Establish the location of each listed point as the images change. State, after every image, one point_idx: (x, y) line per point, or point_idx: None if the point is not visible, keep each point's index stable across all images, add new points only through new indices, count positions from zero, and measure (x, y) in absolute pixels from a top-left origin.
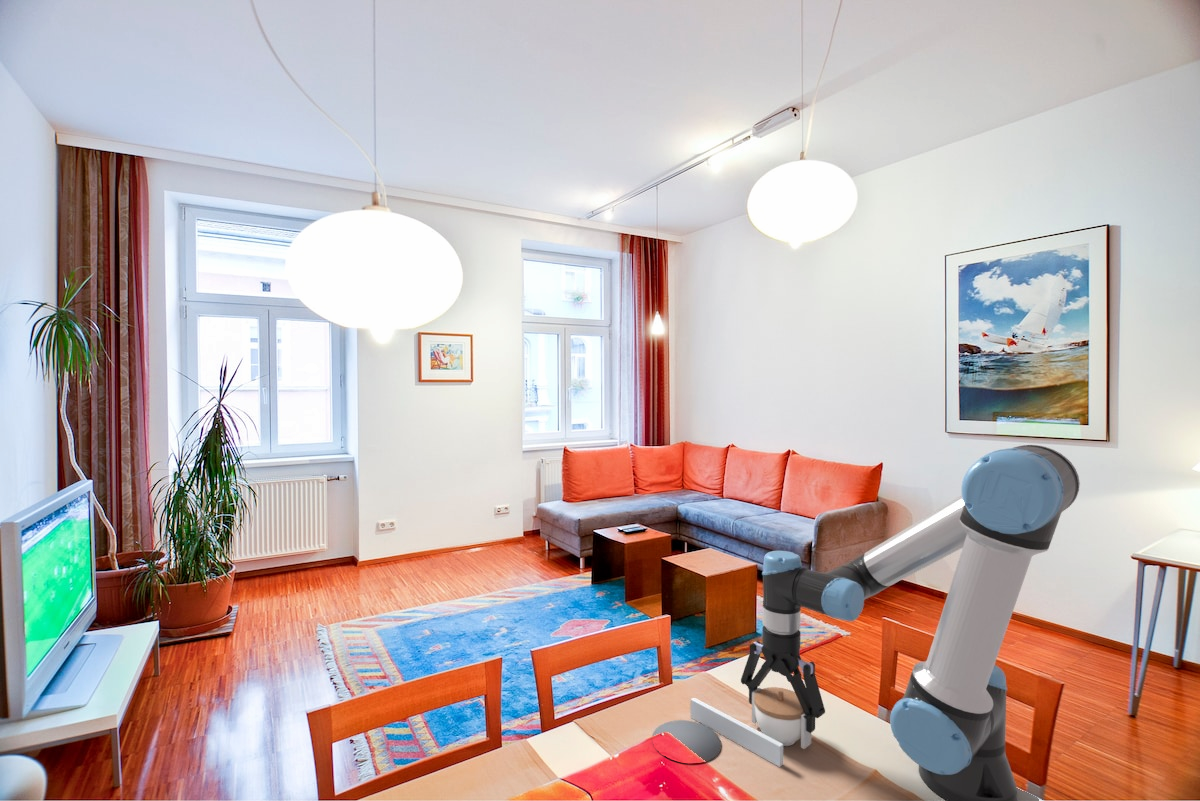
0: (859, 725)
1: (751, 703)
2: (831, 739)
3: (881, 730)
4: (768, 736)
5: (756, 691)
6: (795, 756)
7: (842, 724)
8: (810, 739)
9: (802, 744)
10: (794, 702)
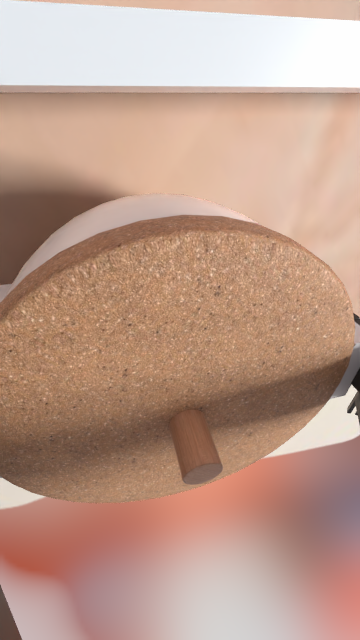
0: None
1: None
2: None
3: (5, 499)
4: (59, 82)
5: (350, 363)
6: (3, 226)
7: None
8: None
9: (3, 294)
10: (105, 462)
